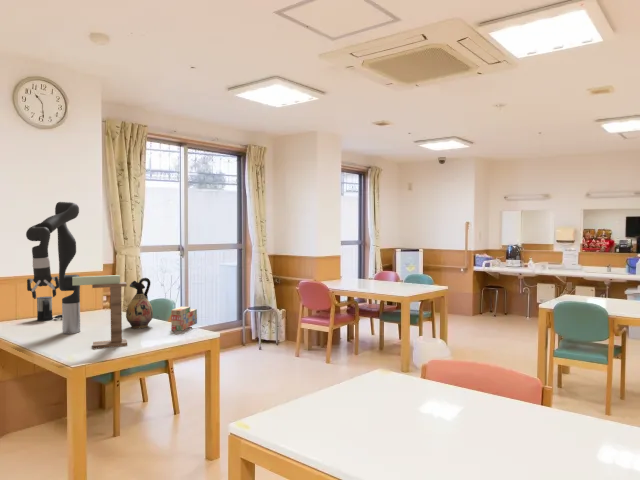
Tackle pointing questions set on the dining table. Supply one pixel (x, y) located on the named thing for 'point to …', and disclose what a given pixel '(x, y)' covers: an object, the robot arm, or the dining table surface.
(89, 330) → the dining table surface
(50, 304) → the milk frother
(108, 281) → the sage batten
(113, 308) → the walnut stand
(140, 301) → the ceramic jug
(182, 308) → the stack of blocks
